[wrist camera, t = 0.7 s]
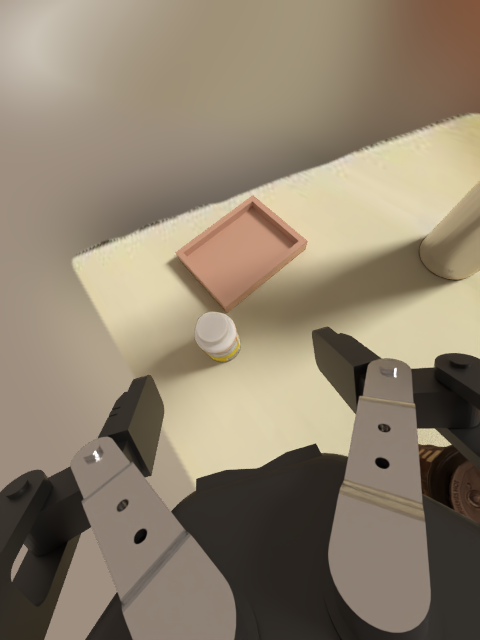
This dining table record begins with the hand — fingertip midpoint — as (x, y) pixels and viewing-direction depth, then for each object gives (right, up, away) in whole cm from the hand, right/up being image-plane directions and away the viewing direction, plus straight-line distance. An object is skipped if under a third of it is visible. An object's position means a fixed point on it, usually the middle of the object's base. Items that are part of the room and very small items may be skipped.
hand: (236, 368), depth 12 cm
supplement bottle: (-2, -2, +29) cm, 29 cm away
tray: (0, +14, +34) cm, 37 cm away
